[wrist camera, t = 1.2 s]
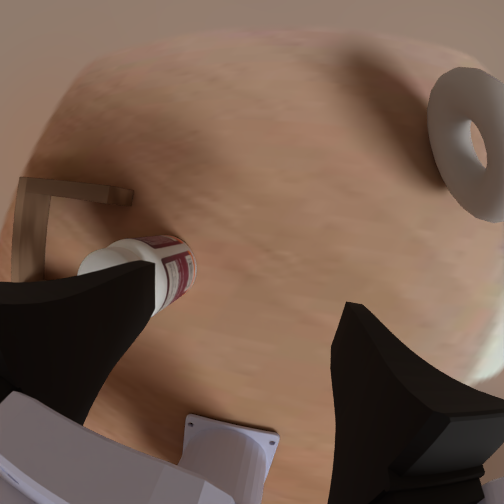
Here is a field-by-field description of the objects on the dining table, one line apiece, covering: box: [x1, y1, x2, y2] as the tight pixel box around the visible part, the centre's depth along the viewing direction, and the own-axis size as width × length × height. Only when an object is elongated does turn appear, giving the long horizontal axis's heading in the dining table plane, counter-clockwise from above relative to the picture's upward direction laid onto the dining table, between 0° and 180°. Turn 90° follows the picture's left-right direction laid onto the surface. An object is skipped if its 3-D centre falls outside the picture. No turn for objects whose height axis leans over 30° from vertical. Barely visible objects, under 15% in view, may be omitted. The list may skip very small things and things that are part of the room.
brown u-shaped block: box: [11, 177, 134, 282], centre depth 21 cm, size 10×10×4 cm
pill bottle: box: [77, 235, 197, 317], centre depth 18 cm, size 5×5×8 cm
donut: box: [427, 67, 504, 223], centre depth 14 cm, size 10×4×10 cm, turn 18°
